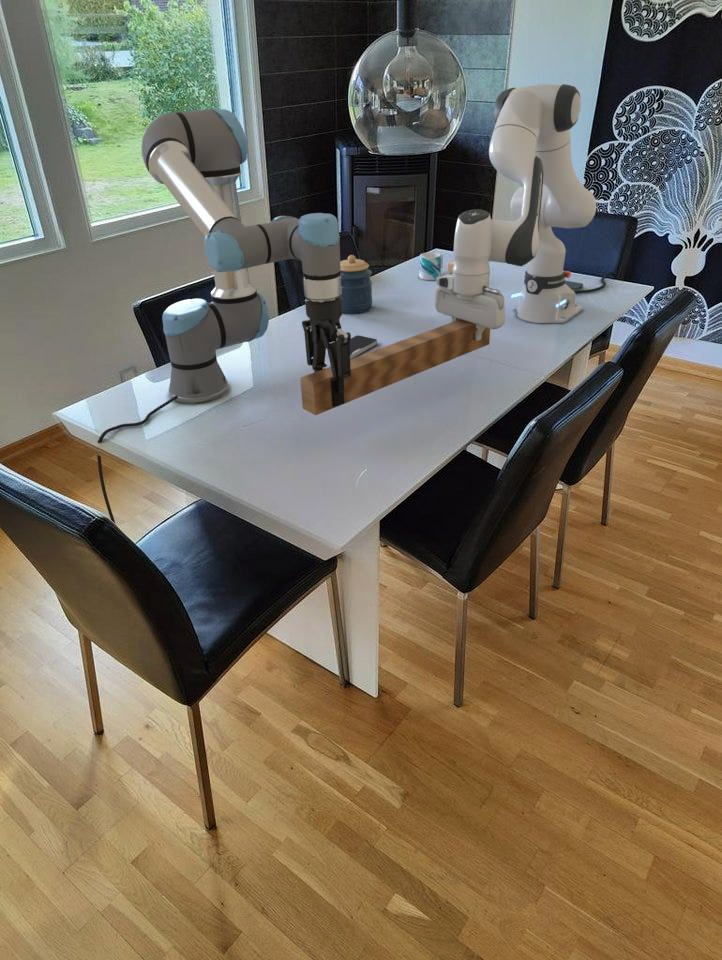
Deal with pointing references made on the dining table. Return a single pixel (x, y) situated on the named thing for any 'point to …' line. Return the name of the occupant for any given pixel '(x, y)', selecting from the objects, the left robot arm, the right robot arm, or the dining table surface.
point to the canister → (355, 285)
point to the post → (393, 364)
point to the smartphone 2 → (574, 285)
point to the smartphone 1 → (360, 345)
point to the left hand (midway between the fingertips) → (330, 401)
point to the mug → (430, 265)
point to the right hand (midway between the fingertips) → (467, 336)
